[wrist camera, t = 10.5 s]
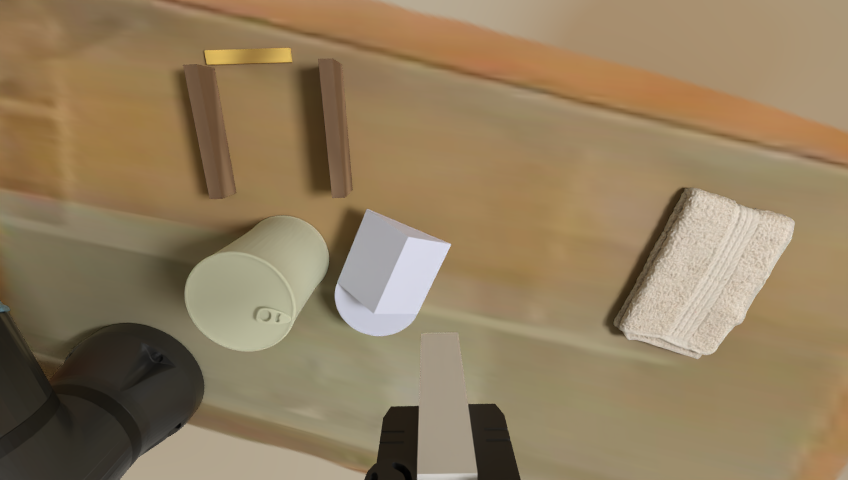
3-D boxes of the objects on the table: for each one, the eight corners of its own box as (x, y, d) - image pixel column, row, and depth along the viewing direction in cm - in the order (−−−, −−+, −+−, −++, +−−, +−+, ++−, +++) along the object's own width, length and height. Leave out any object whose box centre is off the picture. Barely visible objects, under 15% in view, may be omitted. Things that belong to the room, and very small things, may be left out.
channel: (224, 193, 41) (204, 201, 37) (198, 51, 37) (172, 44, 33) (352, 189, 41) (344, 197, 37) (340, 46, 37) (330, 38, 33)
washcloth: (606, 327, 46) (618, 341, 43) (679, 181, 41) (699, 186, 38) (697, 352, 47) (715, 368, 44) (780, 214, 42) (807, 221, 39)
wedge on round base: (371, 201, 41) (330, 303, 45) (361, 217, 35) (314, 334, 38) (449, 234, 42) (402, 331, 46) (453, 255, 36) (398, 366, 40)
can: (317, 304, 45) (279, 369, 33) (238, 279, 44) (171, 337, 33) (339, 231, 42) (306, 275, 31) (255, 203, 41) (189, 237, 30)
